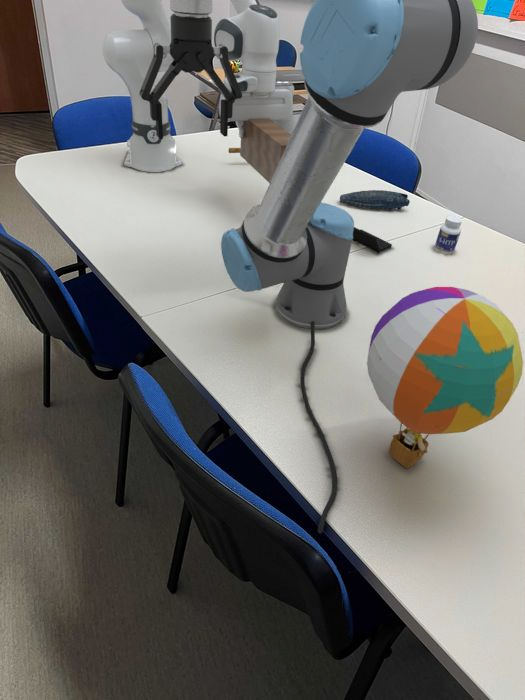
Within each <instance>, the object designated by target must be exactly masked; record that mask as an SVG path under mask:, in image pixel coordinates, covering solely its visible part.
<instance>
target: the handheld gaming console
mask: <svg viewBox="0 0 525 700" xmlns="http://www.w3.org/2000/svg"><path fill="white" fill-rule="evenodd" d="M352 242H355V243H357V244H359V245H361V246H363V247H365V248H366V249H368V250H371V251H372V252H374V253H376V254H381V253H382V252H385V251H387V250H389V249H391V248H392V247H393V244H392V243H390V242H388V241H386V240H384V239H382V238H381V237H378V236H376V235H373V234H372V233H370V232H368V231H365V230H364V229H359V228H358V227H356V226H354V229H353V240H352Z"/></svg>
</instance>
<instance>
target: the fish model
mask: <svg viewBox="0 0 525 700" xmlns="http://www.w3.org/2000/svg"><path fill="white" fill-rule="evenodd" d="M410 202H411V201H410V200H409V195H408V194H406V193H403V192H402V193H401V192H399V191H392V190H382V189H380V190H379V189H377V190H376V189H368V190H360V191H352V192H348V193H344V194H341V195H340V196H339V203H343V204H346V205H349V206H351V207H357V208H362V209H371V210H372V209H374V210H384V211H385V210H386V211H391V210H394V209H397V210H402V208H404V207H408V206H409V205H410Z"/></svg>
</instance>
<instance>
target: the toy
mask: <svg viewBox="0 0 525 700" xmlns="http://www.w3.org/2000/svg"><path fill="white" fill-rule="evenodd" d="M514 325H515V324H514V323H513V322H512V321H511V319H510V318H509V317H508V316H507V314H506V313H504V311H503V310H502V309H501V308H500V307H499V305H498V304H496V303H495V302H493V301H492V300H490V299H489V298H487V297H486V296H483V295H481V294H479V293H477V292H474V291H472V290H469V289H465V288H461V287H460V288H459V287H455V286H433V287H429V288H425V289H421V290H418V291H414V292H412V293H409V294H407V295H406V296H404V297H401V299H400V300H398V301H397V302H396V303H395V304H394V305H393V306H392V307H391V308H389V309H388V310H387V311H386V312H385V313H384V314H382V316H381V317H380V318H379V320H378V321H377V323H376V324H375V326H374V329H373V331H372V334H371V335H370V343H369V346H368V353H367V361H366V367H367V373H368V377H369V379H370V381H371V384H372V386H373V389H374V391H375V393H376V396H377V398H378V401H380V403H381V404H382V405H383V406H384V407H385V408H386V410H388V412H389V413H391V415H392V416H393V417H394V418H395V419H397V421H398V422H399V423H400V427H399V431H398V434H397V433H396V434H395V433H394V434H393V435H392V439H391V441H390V444H389V450H388V454H389V456H390V457H391V458H393V459H394V460H395V461H396V462H398V464H400V465H401V466H403V467H404V468H406V469H410V468H411V467H412V466H413V465H415V464H416V463H417V462H419V461H420V460H421V459H422V458H423V456H425V454H427V453H428V448H429V442H428V441H427V438H428V437H429V435H444V434H445V435H447V434H457V433H459V434H460V433H465V432H467V431H468V432H469V431H470V430H472V429H475V428H477V427H479V426H480V425H483V424H485V423H488V422H489V421H492V420H493V419H495V418H496V417H497V416H498V415H499V414H501V413H502V412H503V410H504V409H505V407H506V406H507V405H508V403H509V402H510V401H511V398H512V397H513V395H514V393H515V391H516V390H517V388H518V386H519V383H520V382H521V378H522V375H523V367H524V360H523V354H522V348H521V344H520V343H521V342H520V339H519V333H518V331H517V329H516V328H515V326H514ZM402 425H403V426H404V427H405V429H403V430H402V427H403V426H402ZM422 434H423V435H426V436H425V438H423V436H422Z"/></svg>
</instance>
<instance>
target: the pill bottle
mask: <svg viewBox="0 0 525 700" xmlns="http://www.w3.org/2000/svg"><path fill="white" fill-rule="evenodd" d="M462 222H463V219H461V218H460V217H458V216H455V215H448V216H446V218H445V220H444V223H443V224H442V225H440V228H439V231H438V234H437V237H436V240H435V243H434V250H435V251H437V252H439V253H441V254H447V255H449V254H453V253H454V252H455V250H456V247H457V244H458V242H459V239H460V236H461V233H462V229H461V225H462Z"/></svg>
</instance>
